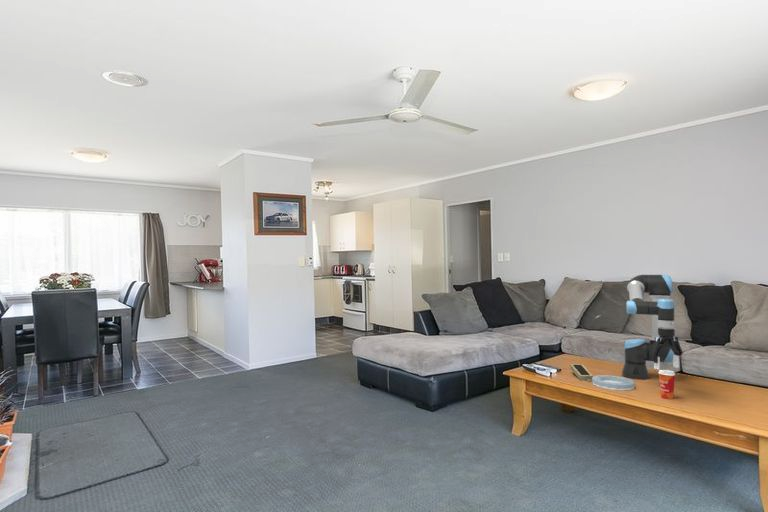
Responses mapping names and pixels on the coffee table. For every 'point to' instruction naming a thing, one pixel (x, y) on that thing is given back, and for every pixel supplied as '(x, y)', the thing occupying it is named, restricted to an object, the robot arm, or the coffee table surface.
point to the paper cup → (666, 383)
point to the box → (581, 372)
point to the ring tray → (613, 382)
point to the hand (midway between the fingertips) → (666, 368)
